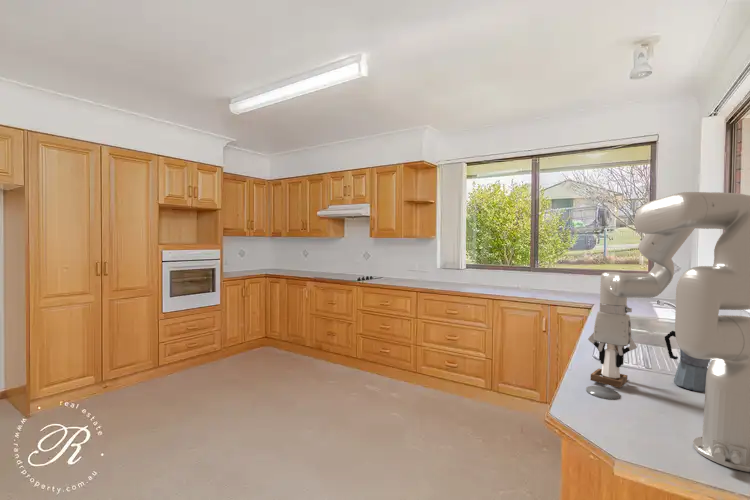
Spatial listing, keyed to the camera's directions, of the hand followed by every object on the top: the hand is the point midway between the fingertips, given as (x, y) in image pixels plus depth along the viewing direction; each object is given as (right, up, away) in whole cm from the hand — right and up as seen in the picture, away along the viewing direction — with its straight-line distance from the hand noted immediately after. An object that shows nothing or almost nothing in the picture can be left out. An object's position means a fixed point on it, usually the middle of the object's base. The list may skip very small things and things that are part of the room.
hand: (610, 364), depth 126 cm
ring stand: (+2, -7, +3) cm, 7 cm away
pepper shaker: (0, -4, 0) cm, 4 cm away
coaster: (-7, -7, -7) cm, 12 cm away
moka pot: (+26, -8, 0) cm, 27 cm away
